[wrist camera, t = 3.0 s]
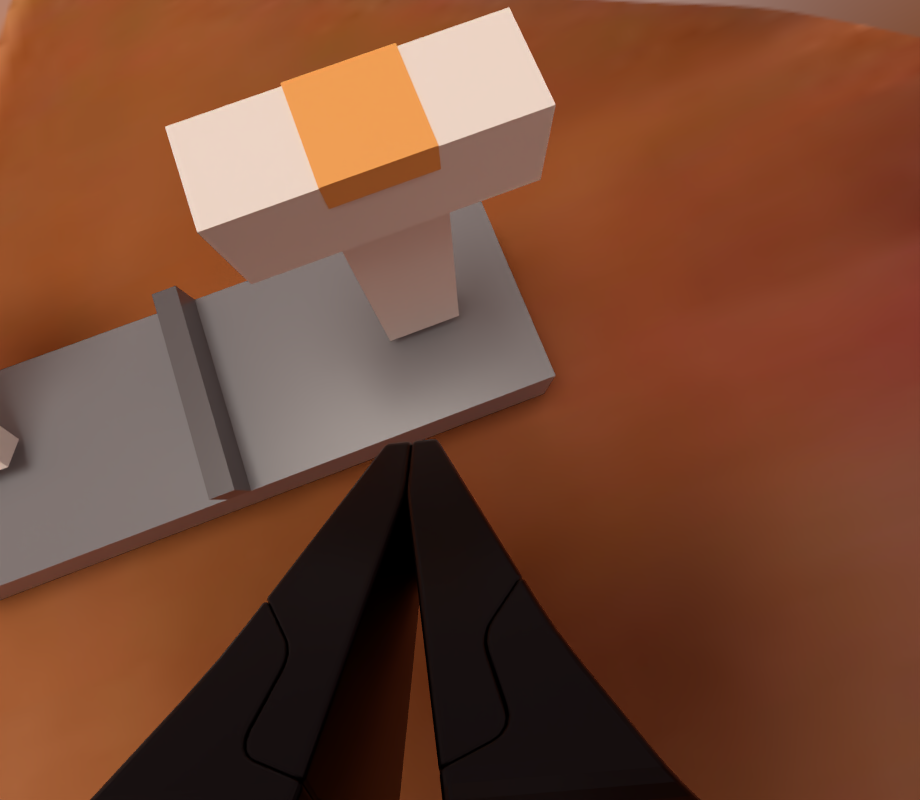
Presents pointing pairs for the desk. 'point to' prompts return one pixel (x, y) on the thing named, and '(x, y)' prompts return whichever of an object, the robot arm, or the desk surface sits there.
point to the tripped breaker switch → (371, 163)
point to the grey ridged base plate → (244, 403)
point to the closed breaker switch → (6, 447)
